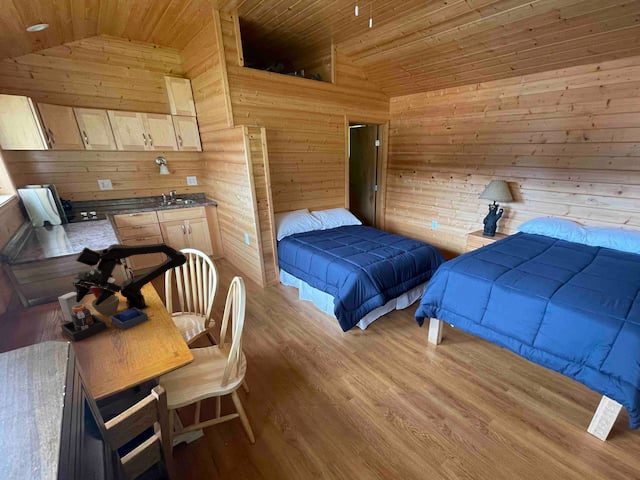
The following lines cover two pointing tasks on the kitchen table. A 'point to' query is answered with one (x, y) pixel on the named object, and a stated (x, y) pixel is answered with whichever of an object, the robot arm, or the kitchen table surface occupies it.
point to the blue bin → (130, 323)
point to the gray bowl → (107, 305)
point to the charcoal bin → (73, 334)
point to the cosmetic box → (68, 304)
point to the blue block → (128, 315)
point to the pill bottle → (81, 317)
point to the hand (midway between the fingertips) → (86, 303)
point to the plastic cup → (96, 289)
